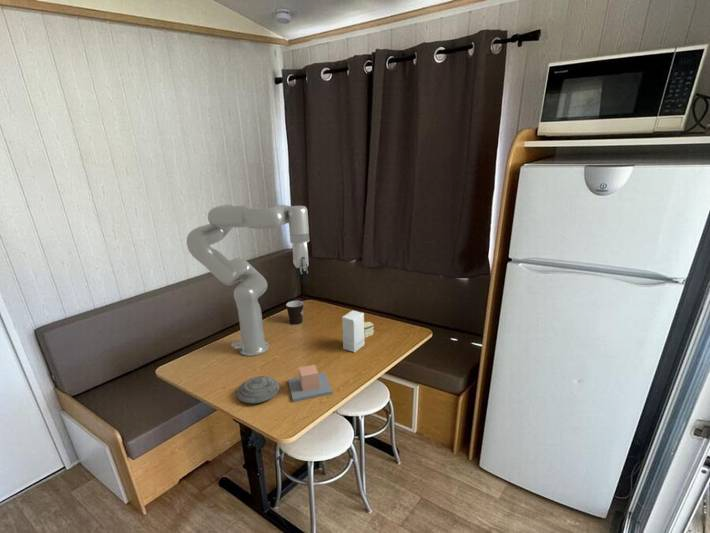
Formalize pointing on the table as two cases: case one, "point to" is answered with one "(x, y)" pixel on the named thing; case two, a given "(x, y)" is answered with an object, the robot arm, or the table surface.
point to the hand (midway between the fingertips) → (302, 279)
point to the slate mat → (302, 395)
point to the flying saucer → (258, 389)
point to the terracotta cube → (309, 377)
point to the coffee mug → (295, 312)
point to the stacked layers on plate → (368, 329)
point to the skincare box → (353, 331)
